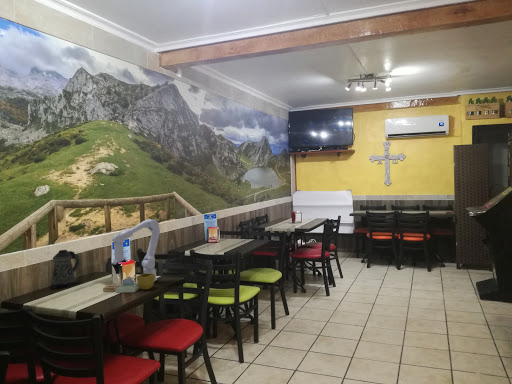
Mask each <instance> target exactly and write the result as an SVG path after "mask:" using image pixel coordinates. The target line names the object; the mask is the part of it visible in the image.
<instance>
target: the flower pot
mask: <svg viewBox="0 0 512 384" xmlns="http://www.w3.org/2000/svg"><path fill="white" fill-rule="evenodd" d="M154 279H155V274H150V273H144V272H143V273H142V274H138V275H137V276H136V281H137V282H136V283H138V285H139V287H140V290H149V289H152V287H153V286H154V284H155V281H154Z"/></svg>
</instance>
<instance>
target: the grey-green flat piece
mask: <svg viewBox="0 0 512 384" xmlns="http://www.w3.org/2000/svg"><path fill="white" fill-rule="evenodd" d="M119 285H120V286H119V287H117V289H116V293H117V294H118V293H120V294H121V293H136V292H137V291H138V290H141V288H140V287H139V285H138V282H134V285H123V283H122V284H119Z"/></svg>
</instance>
